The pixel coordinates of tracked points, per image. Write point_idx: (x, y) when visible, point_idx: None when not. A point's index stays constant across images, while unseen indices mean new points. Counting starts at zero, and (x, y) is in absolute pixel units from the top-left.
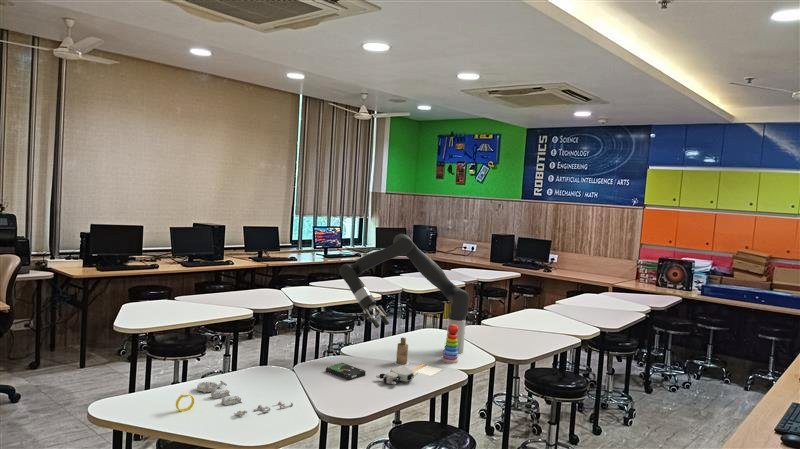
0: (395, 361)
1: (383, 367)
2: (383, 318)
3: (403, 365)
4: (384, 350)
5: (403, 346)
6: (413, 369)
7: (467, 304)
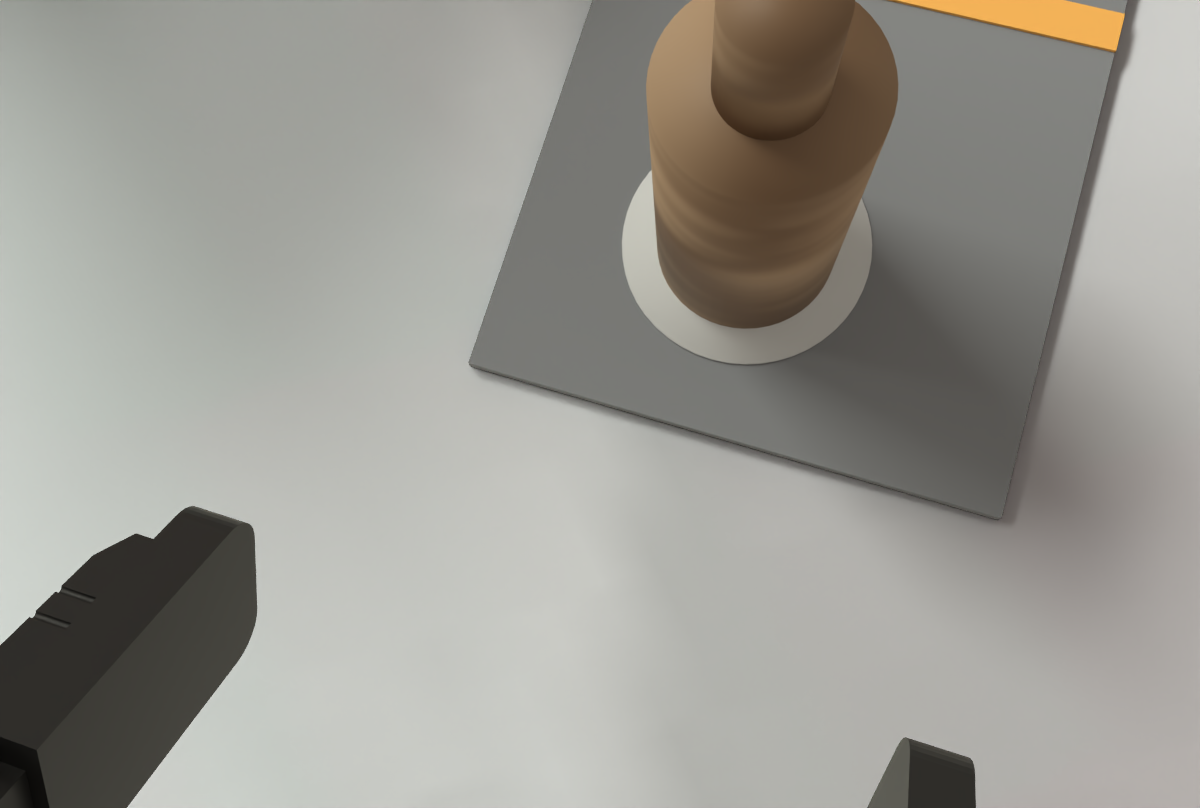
0: (705, 355)
1: (1067, 478)
2: (68, 793)
3: None
4: None
5: (883, 52)
6: (977, 4)
7: None
